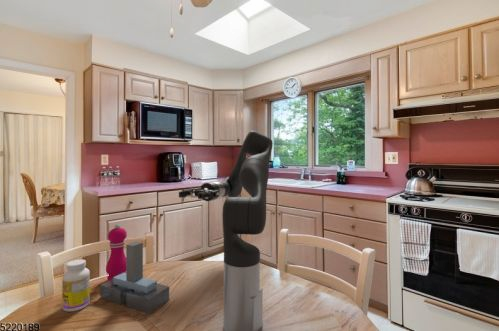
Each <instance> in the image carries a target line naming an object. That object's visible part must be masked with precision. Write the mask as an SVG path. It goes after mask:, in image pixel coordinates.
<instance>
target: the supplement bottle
mask: <svg viewBox="0 0 499 331" xmlns="http://www.w3.org/2000/svg"><path fill="white" fill-rule="evenodd" d="M86 266H87V262H86V259H74V260H72V261H69V262H67V263H66V270H67V271H65V272H64V273H63V274H62V279H61V281H62V290H61V292H62V296H61V297H62V299H61V301H62V302H61V304H62V310H63V311H64V312H76V311H80V310H82V309H85V308H86V307H87V306H88V305H89V304H90V301H91V299H90V298H91V297H90V295H91V286H90V285H91V284H90V283H91V282H90V281H91V280H90V278H91V277H90V276H91V274H90V272H91V270H89V269H88V268H87V267H86Z"/></svg>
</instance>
